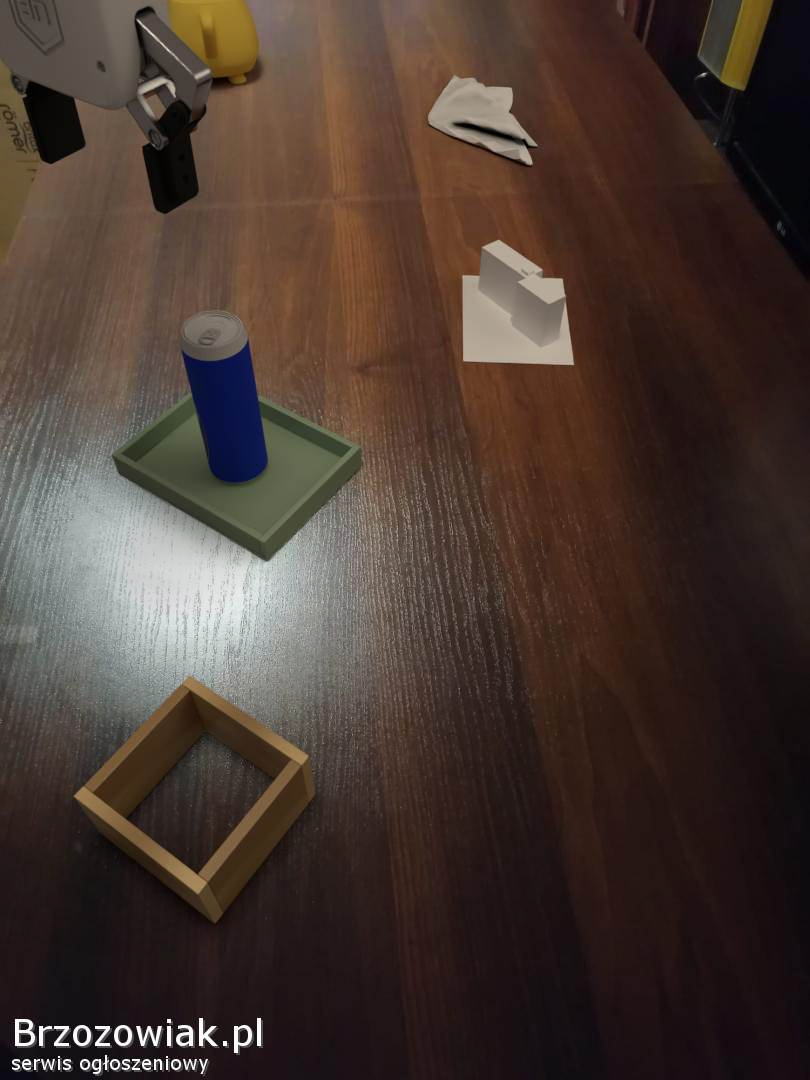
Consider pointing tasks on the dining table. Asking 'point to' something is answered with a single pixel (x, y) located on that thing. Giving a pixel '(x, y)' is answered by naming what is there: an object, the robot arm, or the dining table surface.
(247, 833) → the square frame
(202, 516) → the tray
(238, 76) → the teapot
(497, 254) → the napkin holder
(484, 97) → the cloth
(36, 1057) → the dining table surface
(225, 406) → the beverage can
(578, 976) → the dining table surface
